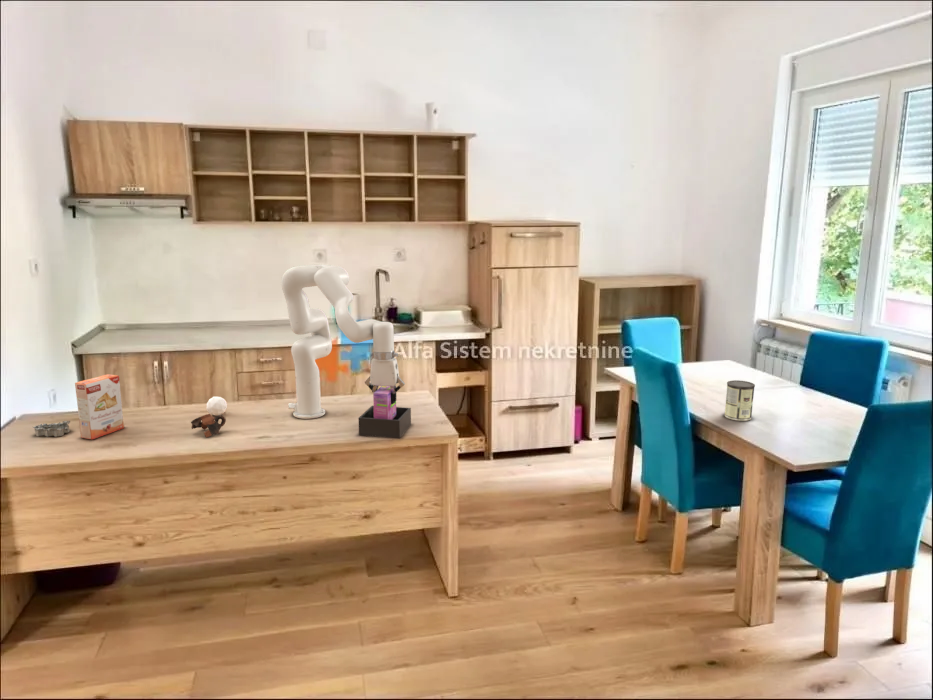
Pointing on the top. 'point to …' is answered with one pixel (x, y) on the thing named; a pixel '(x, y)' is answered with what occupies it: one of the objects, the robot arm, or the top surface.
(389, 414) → the box
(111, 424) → the cracker box
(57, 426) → the egg carton
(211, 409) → the ball
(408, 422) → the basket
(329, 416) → the top surface
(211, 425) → the pottery mug
